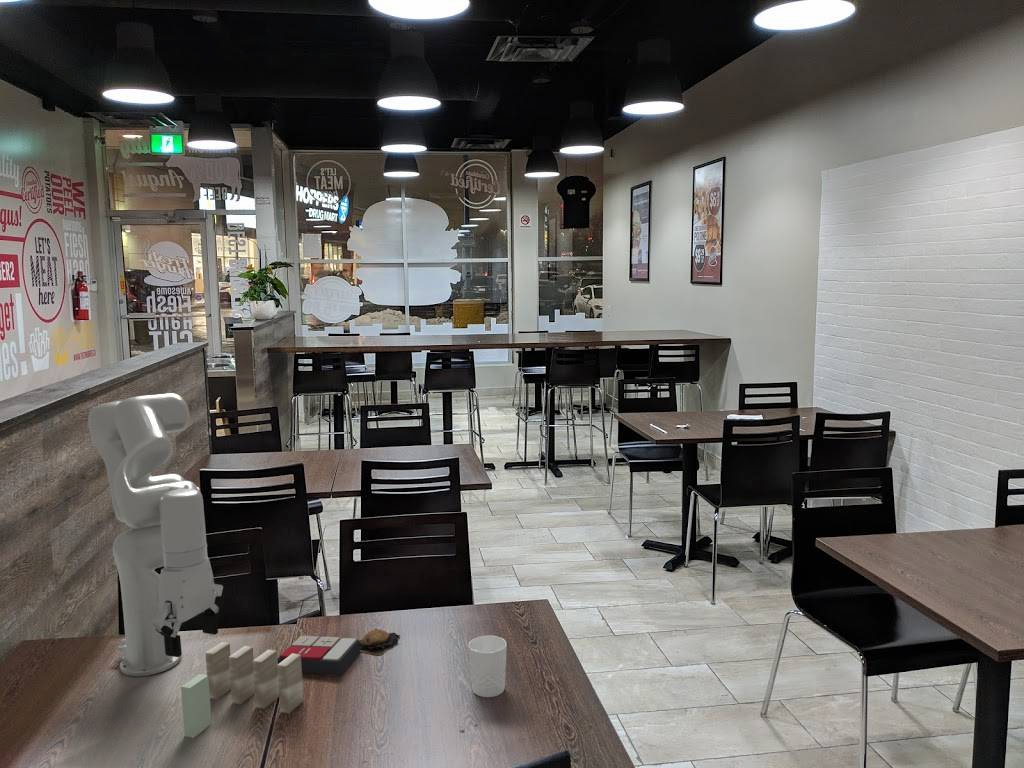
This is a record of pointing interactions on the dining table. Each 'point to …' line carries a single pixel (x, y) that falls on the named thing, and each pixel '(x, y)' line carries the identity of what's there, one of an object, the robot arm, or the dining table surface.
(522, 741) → the dining table surface
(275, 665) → the domino
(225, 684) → the domino
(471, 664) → the white cup
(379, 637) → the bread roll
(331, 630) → the dining table surface
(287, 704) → the domino
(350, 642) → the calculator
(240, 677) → the domino
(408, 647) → the dining table surface
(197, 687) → the domino
